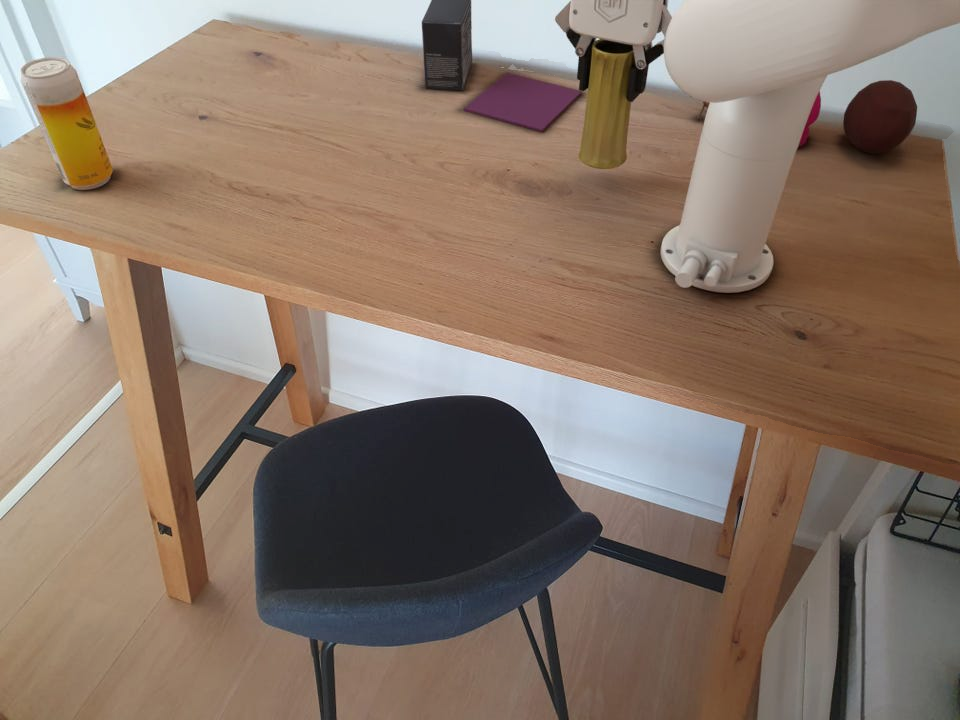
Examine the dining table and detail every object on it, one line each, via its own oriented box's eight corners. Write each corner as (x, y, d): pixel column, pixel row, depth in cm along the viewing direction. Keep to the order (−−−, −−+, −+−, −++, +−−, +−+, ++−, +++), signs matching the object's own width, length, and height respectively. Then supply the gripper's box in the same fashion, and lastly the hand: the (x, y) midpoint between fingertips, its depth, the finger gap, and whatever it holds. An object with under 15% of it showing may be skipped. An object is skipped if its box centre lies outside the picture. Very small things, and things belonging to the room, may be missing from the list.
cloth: (542, 132, 110) (542, 129, 109) (463, 110, 114) (463, 108, 114) (581, 93, 118) (581, 91, 118) (507, 75, 123) (507, 72, 123)
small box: (434, 60, 127) (431, -7, 119) (473, 62, 126) (473, -4, 119) (422, 88, 119) (419, 19, 112) (464, 91, 119) (463, 22, 111)
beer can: (123, 179, 100) (82, 66, 89) (78, 197, 97) (31, 83, 86) (100, 162, 103) (58, 51, 92) (56, 179, 99) (7, 66, 89)
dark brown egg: (893, 131, 111) (920, 69, 104) (906, 174, 103) (936, 109, 96) (831, 124, 112) (853, 61, 106) (838, 165, 104) (863, 100, 97)
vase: (630, 150, 99) (646, 38, 89) (621, 173, 95) (636, 58, 85) (584, 143, 101) (595, 32, 91) (573, 165, 96) (583, 52, 87)
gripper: (538, -79, 80) (531, 89, 92) (698, -57, 74) (668, 120, 86) (568, -96, 85) (558, 66, 97) (721, -76, 79) (689, 94, 91)
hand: (610, 90), depth 92 cm, fingers closed on vase, 5 cm apart
